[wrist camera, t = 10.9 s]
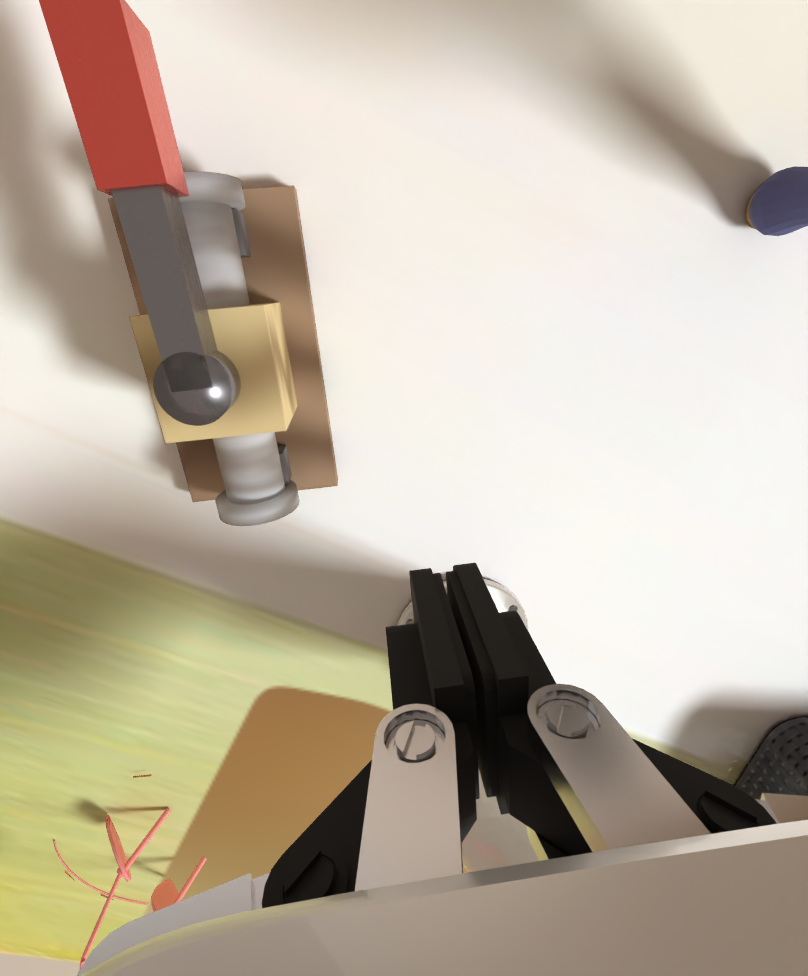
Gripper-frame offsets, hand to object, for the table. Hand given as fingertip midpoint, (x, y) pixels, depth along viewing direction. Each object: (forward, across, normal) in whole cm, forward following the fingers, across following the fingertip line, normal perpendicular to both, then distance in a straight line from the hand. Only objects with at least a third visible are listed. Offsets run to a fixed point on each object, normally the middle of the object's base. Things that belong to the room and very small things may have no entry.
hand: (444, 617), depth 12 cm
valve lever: (+17, +10, -11) cm, 22 cm away
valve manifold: (+26, +10, -5) cm, 28 cm away
